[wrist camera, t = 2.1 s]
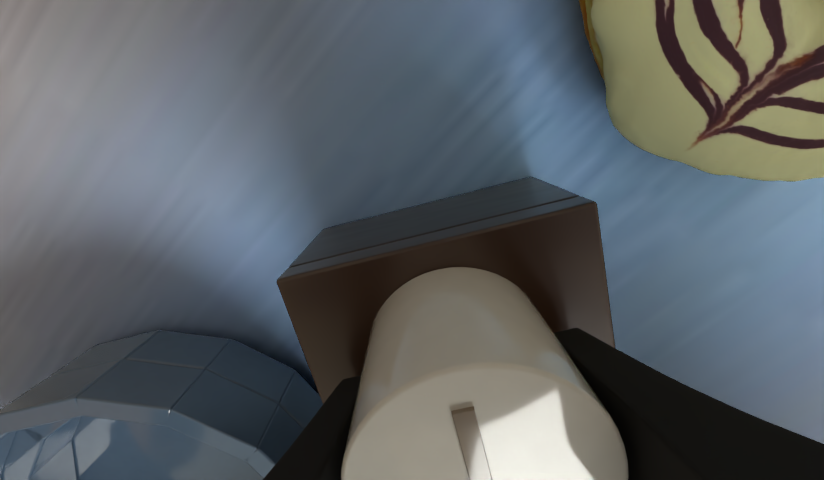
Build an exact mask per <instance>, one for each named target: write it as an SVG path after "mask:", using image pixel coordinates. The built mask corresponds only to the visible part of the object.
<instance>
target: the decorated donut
mask: <svg viewBox="0 0 824 480" xmlns="http://www.w3.org/2000/svg"><path fill="white" fill-rule="evenodd" d="M579 3H580V8H581V12H582V16H583V22H584V31H585V35H586V37H587V40H588V42H589V45H590V48H591V50H592V53H593V56H594V59H595V62H596V64H597V66H598V68H599V71H600V74H601V76H602V78H603V79H604V81H605V86H606V106H607V109H608V112H609V116H610V118H611V121H612V123H613V126H614V127H615V128H616V129H617V130H618V131H619V132H620V133H621V134H622V135H623V136H624V137H625V138H626V139H627V140H628V141H630V142H631V143H633V144H634V145H636V146H637V147H639V148H641V149H643V150H645V151H647V152H649V153H652V154H654V155H656V156H659V157H663V158H666V159H669V160H673V161H679V162H682V163H684V164H687V165H689V166H692V167H694V168H697V169H699V170H701V171H704V172H707V173H710V174H715V175H733V176H737V177H741V178H749V179H755V180H763V181H779V180H780V181H800V180H806V179H812V178H822V177H824V0H579Z"/></svg>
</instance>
